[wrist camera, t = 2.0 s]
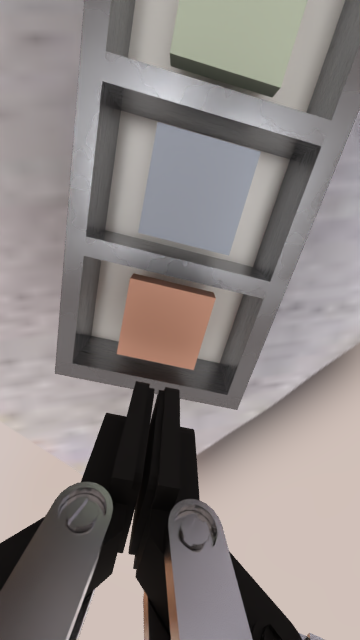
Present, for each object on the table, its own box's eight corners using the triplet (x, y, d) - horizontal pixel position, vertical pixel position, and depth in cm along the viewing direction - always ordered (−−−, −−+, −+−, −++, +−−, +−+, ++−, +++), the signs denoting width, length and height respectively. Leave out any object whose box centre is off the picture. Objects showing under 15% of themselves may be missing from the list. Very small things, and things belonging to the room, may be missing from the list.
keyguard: (129, -137, 12) (107, -287, 8) (382, -44, 13) (460, -140, 9) (76, 344, 21) (54, 373, 17) (227, 376, 22) (237, 409, 18)
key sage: (197, -64, 12) (201, -125, 10) (304, -26, 12) (331, -76, 10) (171, 77, 14) (169, 53, 12) (265, 105, 14) (280, 87, 12)
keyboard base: (136, -91, 14) (129, -137, 12) (357, -12, 15) (382, -44, 13) (85, 333, 23) (76, 344, 21) (224, 362, 24) (227, 376, 22)
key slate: (161, 134, 15) (157, 121, 13) (249, 159, 15) (261, 151, 13) (143, 229, 17) (137, 232, 14) (222, 249, 17) (229, 255, 15)
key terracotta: (136, 268, 18) (130, 278, 15) (211, 286, 18) (215, 298, 16) (124, 337, 19) (116, 354, 17) (192, 351, 20) (193, 370, 18)
